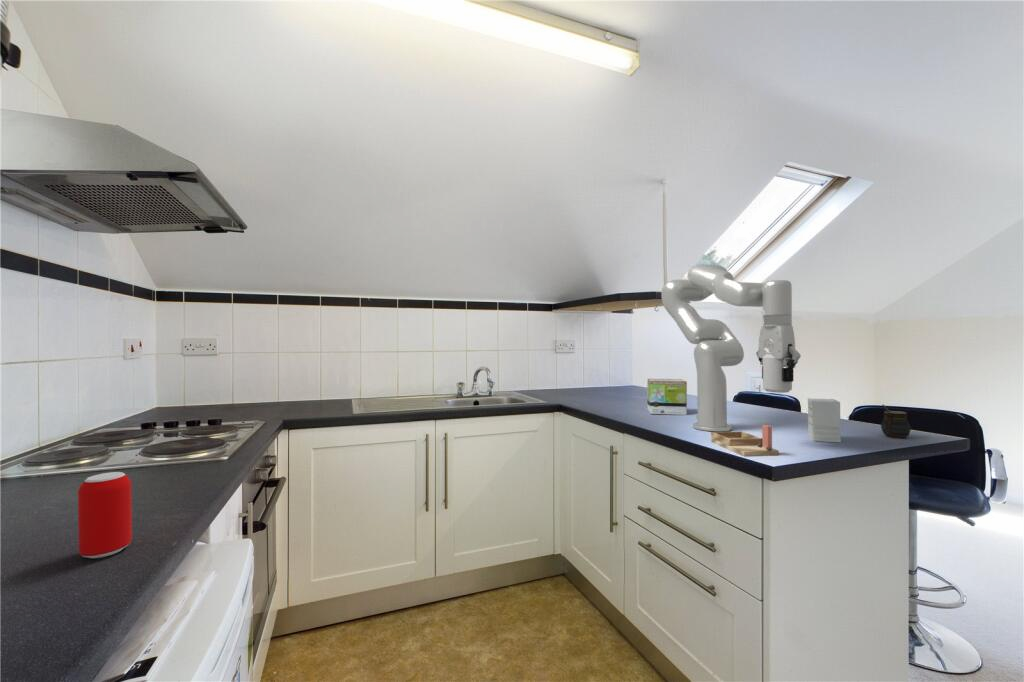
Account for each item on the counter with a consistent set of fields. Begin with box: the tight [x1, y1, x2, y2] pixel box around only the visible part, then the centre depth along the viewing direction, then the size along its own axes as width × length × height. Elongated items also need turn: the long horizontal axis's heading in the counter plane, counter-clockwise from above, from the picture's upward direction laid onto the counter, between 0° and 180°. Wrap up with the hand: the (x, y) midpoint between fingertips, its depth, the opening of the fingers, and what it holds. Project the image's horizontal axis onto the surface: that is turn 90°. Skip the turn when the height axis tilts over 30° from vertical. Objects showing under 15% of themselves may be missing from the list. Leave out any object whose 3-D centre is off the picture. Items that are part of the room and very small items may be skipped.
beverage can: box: [77, 471, 133, 559], centre depth 69 cm, size 6×6×12 cm
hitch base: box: [710, 430, 780, 457], centre depth 129 cm, size 17×10×3 cm, turn 4°
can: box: [762, 352, 793, 394], centre depth 132 cm, size 8×8×12 cm
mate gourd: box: [880, 404, 912, 439], centre depth 141 cm, size 7×8×10 cm
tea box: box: [646, 378, 688, 416], centre depth 191 cm, size 15×10×15 cm, turn 81°
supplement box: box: [807, 397, 842, 444], centre depth 138 cm, size 7×7×13 cm
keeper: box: [761, 424, 773, 448], centre depth 123 cm, size 2×6×1 cm
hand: (777, 379), depth 132 cm, fingers closed on can, 7 cm apart
